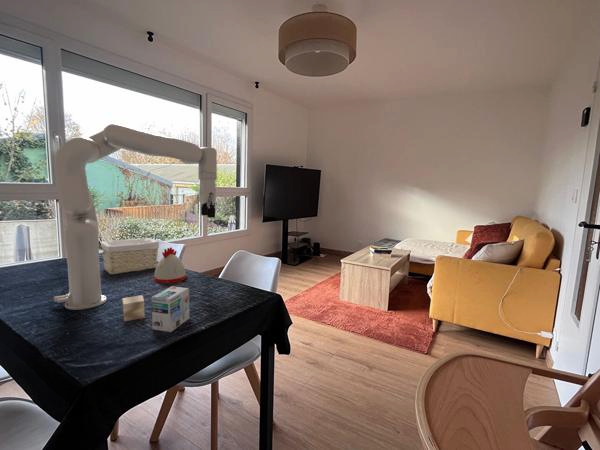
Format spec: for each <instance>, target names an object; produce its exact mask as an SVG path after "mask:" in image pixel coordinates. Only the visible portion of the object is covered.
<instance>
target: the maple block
mask: <svg viewBox="0 0 600 450" xmlns="http://www.w3.org/2000/svg"><path fill="white" fill-rule="evenodd" d="M122 315H123V322H130V321H134V320H140V319H145V318H146V317H145V315H146V314H145V299H144V296H143V295H142V294H141V295H136V296H129V297H122Z"/></svg>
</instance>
